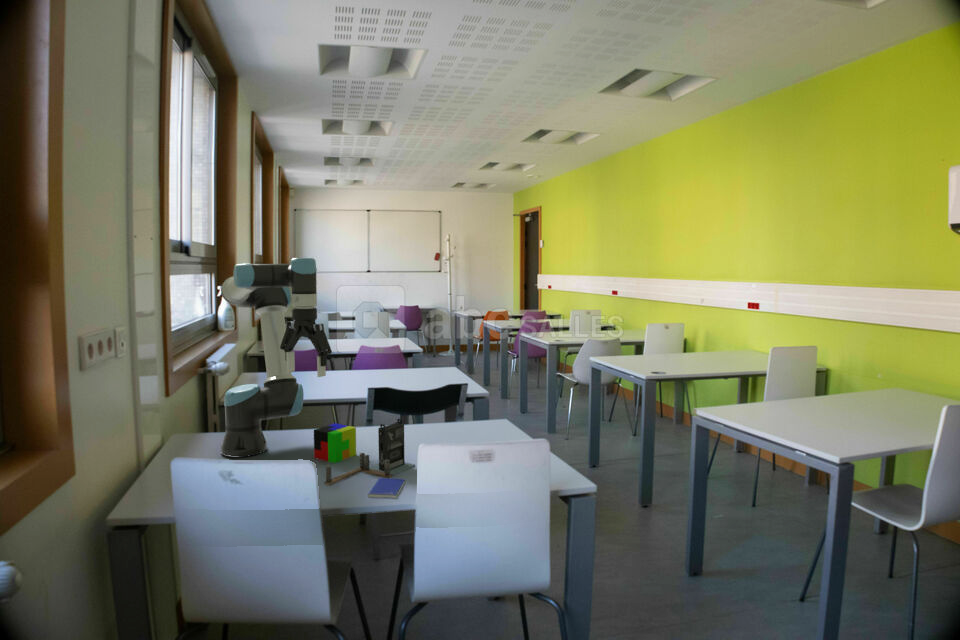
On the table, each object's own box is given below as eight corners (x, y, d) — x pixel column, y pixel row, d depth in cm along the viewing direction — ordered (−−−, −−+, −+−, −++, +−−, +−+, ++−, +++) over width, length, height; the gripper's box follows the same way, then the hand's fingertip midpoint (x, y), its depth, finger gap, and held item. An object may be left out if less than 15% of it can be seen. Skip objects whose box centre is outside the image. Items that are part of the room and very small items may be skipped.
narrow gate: (387, 478, 180) (386, 461, 179) (362, 472, 185) (362, 455, 185) (391, 476, 182) (391, 459, 181) (367, 470, 187) (366, 454, 186)
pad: (367, 469, 188) (367, 468, 187) (389, 460, 197) (389, 458, 197) (393, 476, 182) (393, 474, 182) (415, 465, 191) (415, 464, 191)
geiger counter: (397, 460, 195) (396, 417, 193) (407, 463, 192) (406, 419, 191) (374, 469, 186) (374, 423, 185) (385, 472, 184) (384, 426, 182)
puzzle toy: (335, 450, 207) (334, 423, 207) (356, 455, 202) (355, 427, 201) (314, 458, 199) (313, 429, 198) (335, 463, 194) (334, 434, 193)
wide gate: (324, 484, 175) (324, 466, 175) (361, 468, 189) (361, 452, 188) (329, 485, 174) (328, 468, 174) (366, 469, 188) (366, 453, 187)
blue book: (395, 494, 164) (405, 478, 177) (367, 493, 165) (378, 477, 177) (395, 499, 165) (405, 483, 177) (367, 498, 165) (378, 482, 178)
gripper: (267, 306, 184) (269, 371, 186) (324, 310, 171) (326, 380, 174) (286, 304, 190) (287, 368, 192) (342, 308, 178) (343, 376, 180)
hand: (305, 374), depth 183 cm, fingers open, 13 cm apart
